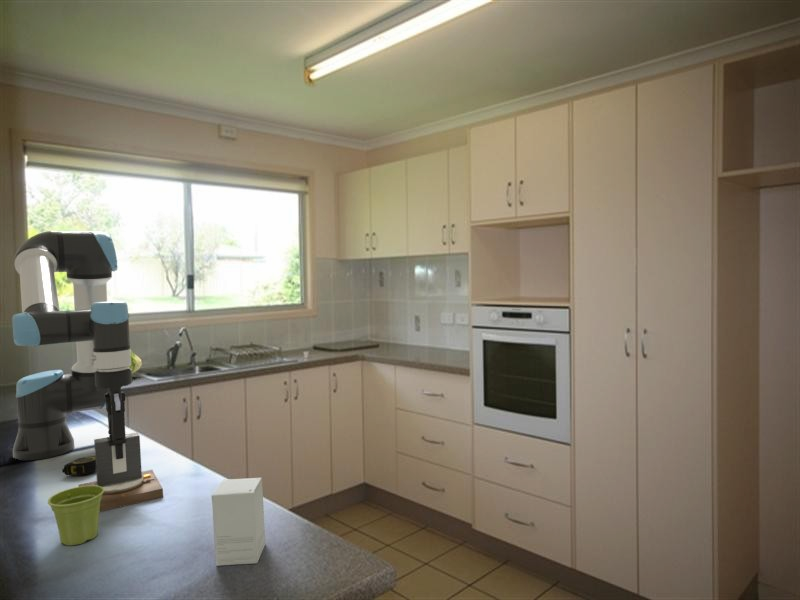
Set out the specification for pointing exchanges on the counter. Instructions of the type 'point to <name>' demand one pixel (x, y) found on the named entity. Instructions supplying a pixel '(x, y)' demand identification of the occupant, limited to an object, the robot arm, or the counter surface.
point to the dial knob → (105, 465)
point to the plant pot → (77, 513)
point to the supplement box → (238, 521)
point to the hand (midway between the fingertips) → (118, 469)
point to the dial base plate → (132, 493)
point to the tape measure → (80, 466)
